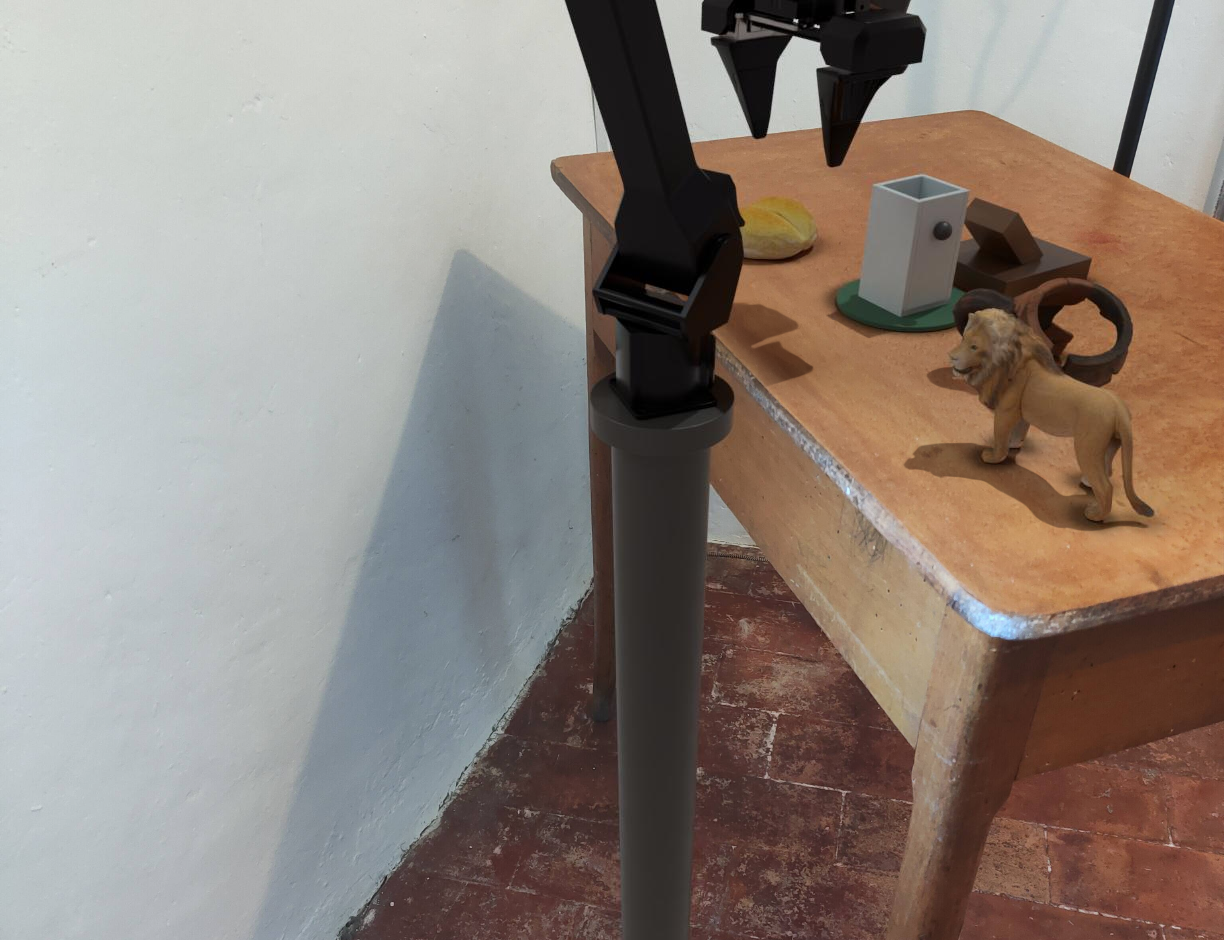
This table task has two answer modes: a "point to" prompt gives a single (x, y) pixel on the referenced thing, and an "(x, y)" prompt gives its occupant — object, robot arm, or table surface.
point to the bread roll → (776, 228)
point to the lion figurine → (1045, 403)
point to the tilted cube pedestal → (1010, 254)
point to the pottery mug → (1039, 315)
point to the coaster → (887, 320)
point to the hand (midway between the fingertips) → (795, 151)
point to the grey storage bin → (912, 243)
